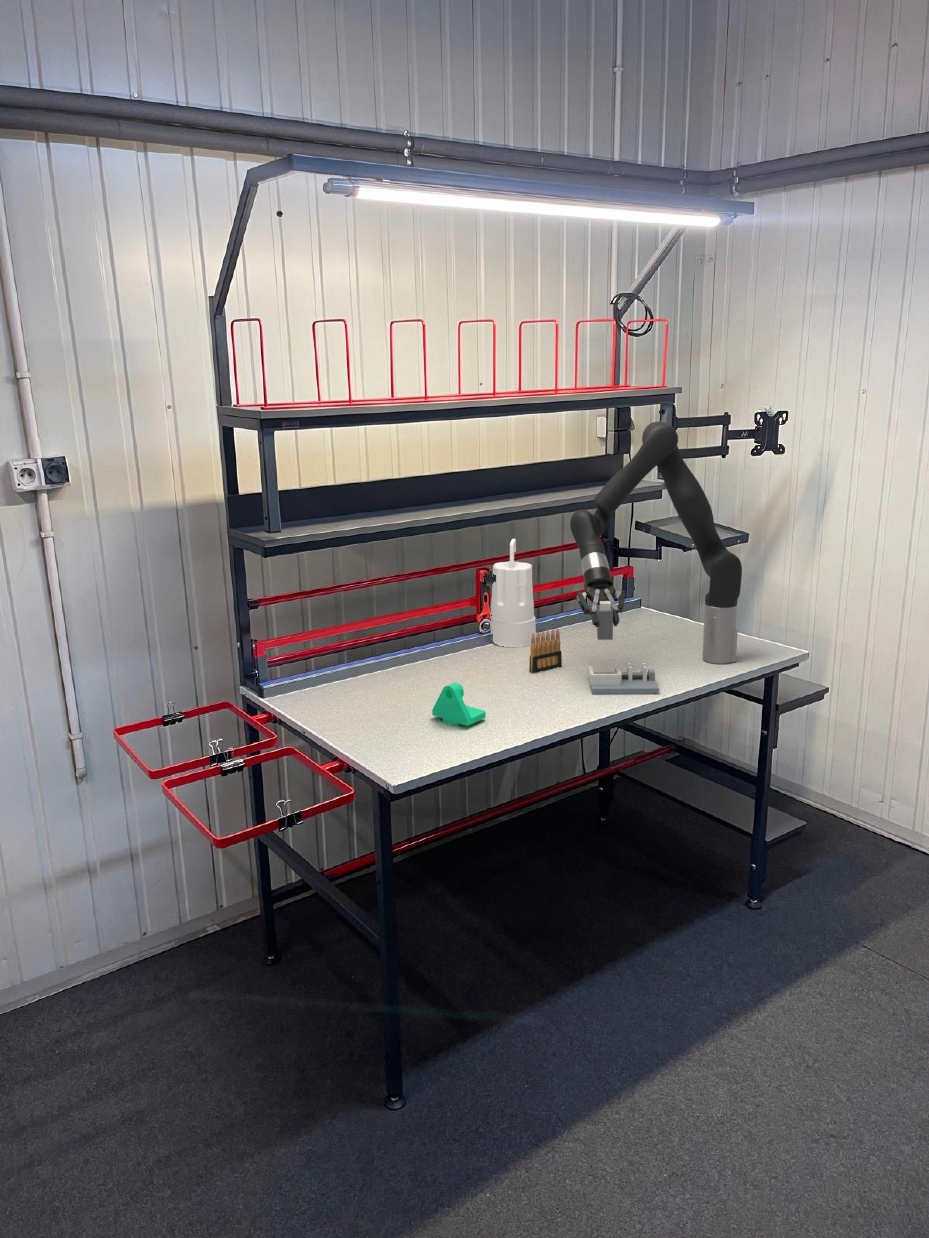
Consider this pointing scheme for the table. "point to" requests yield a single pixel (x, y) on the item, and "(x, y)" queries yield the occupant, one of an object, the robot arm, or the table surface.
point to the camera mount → (456, 707)
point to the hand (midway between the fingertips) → (606, 624)
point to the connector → (605, 621)
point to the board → (623, 681)
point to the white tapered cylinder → (512, 603)
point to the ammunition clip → (545, 652)
